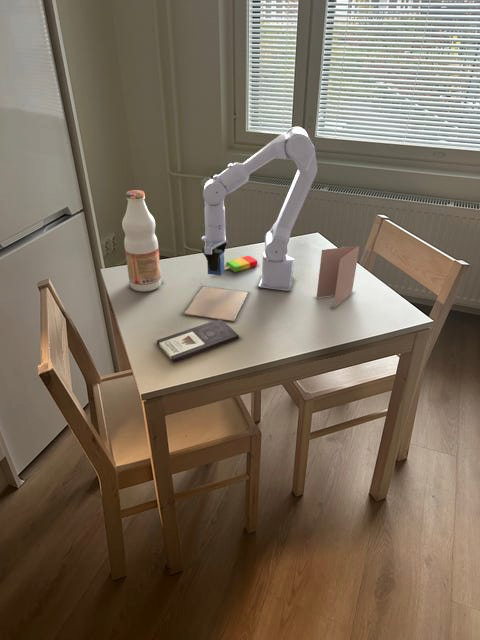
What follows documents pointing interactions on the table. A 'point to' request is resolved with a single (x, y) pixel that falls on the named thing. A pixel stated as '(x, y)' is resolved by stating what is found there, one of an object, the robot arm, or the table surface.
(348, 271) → the greeting card
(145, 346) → the table surface
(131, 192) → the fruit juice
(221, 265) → the blue block
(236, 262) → the popsicle
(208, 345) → the chocolate bar
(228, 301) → the cork mat
